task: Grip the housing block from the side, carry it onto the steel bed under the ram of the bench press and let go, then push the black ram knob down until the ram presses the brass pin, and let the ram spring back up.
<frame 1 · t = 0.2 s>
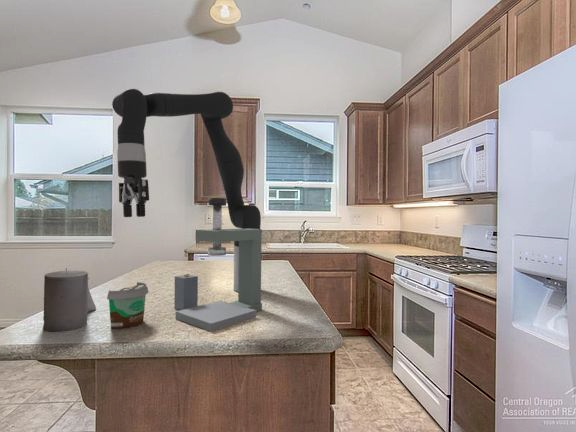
hand: (134, 217, 98), 28 cm above the worktop, tool pointing down, fingers open, 8 cm apart
press ram: (217, 226, 96), point 26 cm above the worktop, slide at 0.0 cm
food container: (133, 325, 90), on the worktop
housing block: (186, 308, 106), on the worktop
bench press: (216, 317, 96), on the worktop
flask: (82, 311, 102), on the worktop
pillar candle: (66, 326, 88), on the worktop
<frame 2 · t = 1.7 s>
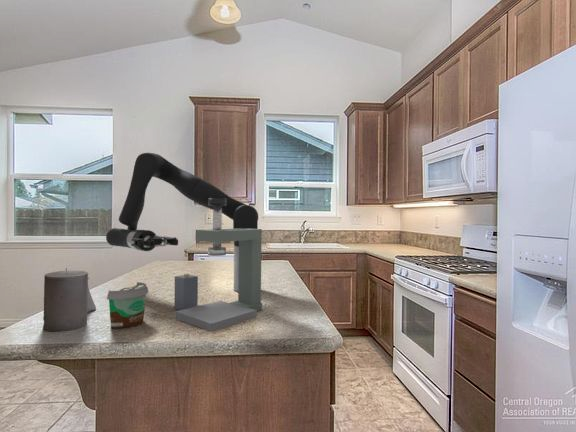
hand: (165, 243, 113), 20 cm above the worktop, tool horizontal, fingers open, 8 cm apart
nothing on the worktop moved.
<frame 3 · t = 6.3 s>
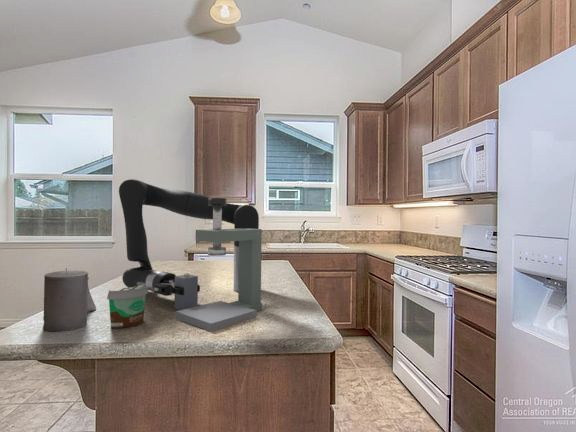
hand: (191, 290, 104), 6 cm above the worktop, tool horizontal, fingers closed on housing block, 5 cm apart
housing block: (186, 308, 106), on the worktop, touching gripper
everything else where it was.
when the fingers open (9 cm above the worktop, at t = 11.3 s): housing block stays where it is, resting on bench press.
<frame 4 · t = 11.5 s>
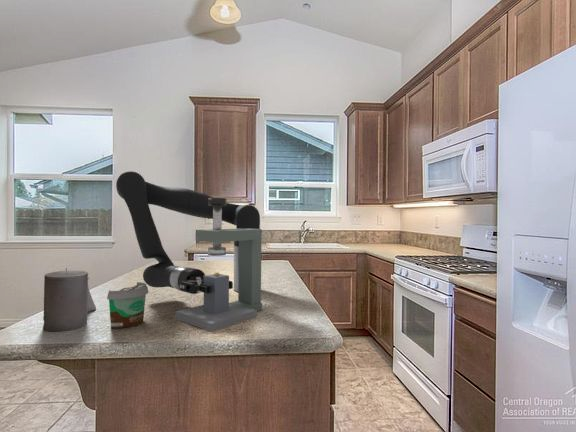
hand: (221, 287, 95), 9 cm above the worktop, tool horizontal, fingers open, 7 cm apart
housing block: (216, 310, 96), point 2 cm above the worktop, touching bench press
everything else where it was.
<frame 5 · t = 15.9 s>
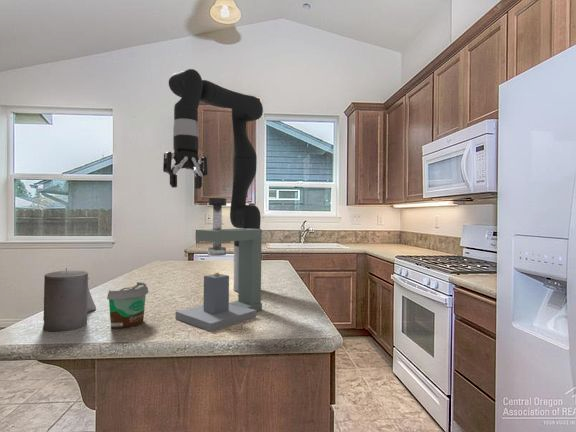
hand: (186, 188, 105), 38 cm above the worktop, tool pointing down, fingers open, 8 cm apart
nothing on the worktop moved.
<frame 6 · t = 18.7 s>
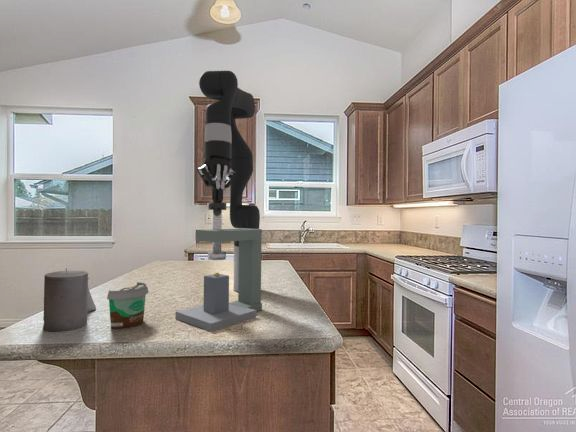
hand: (217, 202, 96), 33 cm above the worktop, tool pointing down, fingers closed
press ram: (217, 230, 96), point 25 cm above the worktop, slide at 1.2 cm, touching gripper
everything else where it was.
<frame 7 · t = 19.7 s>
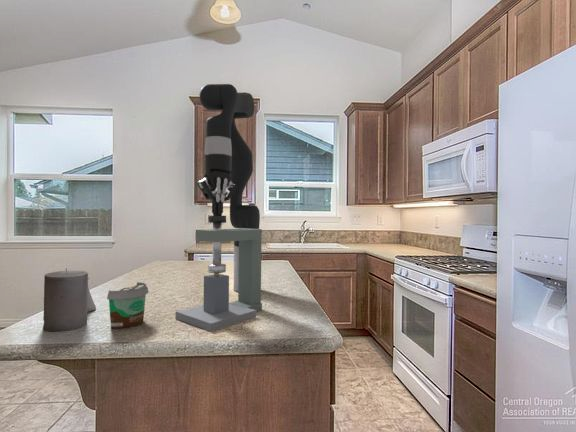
hand: (217, 215, 96), 29 cm above the worktop, tool pointing down, fingers closed
press ram: (217, 243, 96), point 21 cm above the worktop, slide at 4.9 cm, touching gripper
everything else where it was.
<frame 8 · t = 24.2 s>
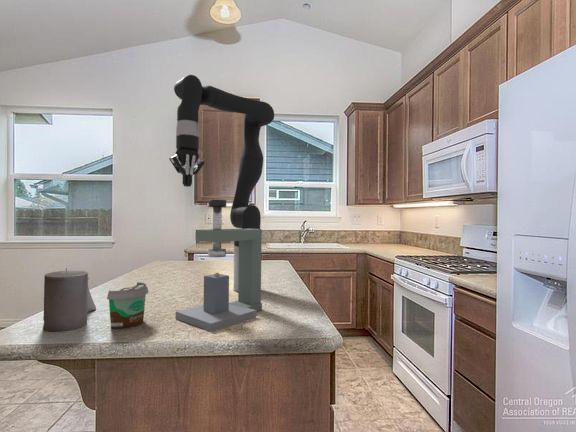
hand: (187, 186, 116), 39 cm above the worktop, tool pointing down, fingers closed
press ram: (217, 228, 96), point 26 cm above the worktop, slide at 0.5 cm
everything else where it was.
at the end: housing block inside the target area on the bench press (0.1 cm from its centre), point 2.0 cm above the bench press's base; housing block tilted 0°; press ram slide at 0.5 cm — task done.
